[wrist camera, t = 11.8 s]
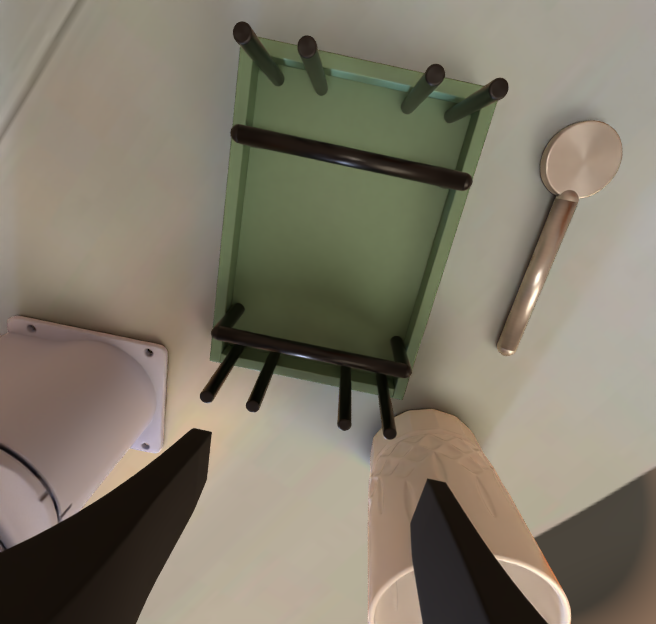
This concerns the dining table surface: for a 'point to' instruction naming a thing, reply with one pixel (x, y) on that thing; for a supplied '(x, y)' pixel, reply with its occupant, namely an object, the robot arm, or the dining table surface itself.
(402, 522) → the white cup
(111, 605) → the robot arm
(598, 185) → the round metal paddle
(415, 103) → the dish rack
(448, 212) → the drip tray
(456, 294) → the dining table surface
